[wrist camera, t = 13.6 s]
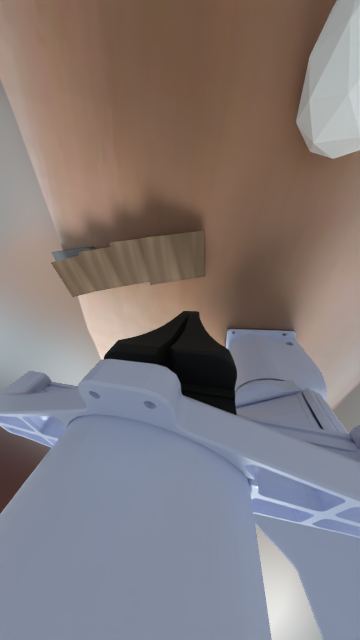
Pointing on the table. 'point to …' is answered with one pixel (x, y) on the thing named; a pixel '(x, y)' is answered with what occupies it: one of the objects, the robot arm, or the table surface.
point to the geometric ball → (333, 85)
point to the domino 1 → (69, 253)
